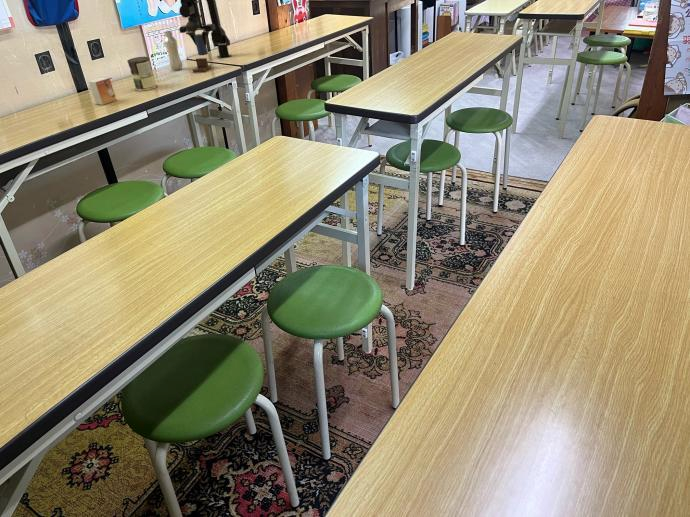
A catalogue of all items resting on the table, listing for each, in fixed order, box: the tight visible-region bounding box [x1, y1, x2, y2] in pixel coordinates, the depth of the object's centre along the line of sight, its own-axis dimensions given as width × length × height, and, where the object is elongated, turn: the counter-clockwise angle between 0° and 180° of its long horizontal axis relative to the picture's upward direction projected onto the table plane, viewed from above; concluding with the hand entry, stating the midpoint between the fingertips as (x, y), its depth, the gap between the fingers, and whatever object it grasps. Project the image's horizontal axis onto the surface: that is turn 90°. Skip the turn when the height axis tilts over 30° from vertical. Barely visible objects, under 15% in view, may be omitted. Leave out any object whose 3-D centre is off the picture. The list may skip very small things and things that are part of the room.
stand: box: [192, 57, 212, 73], centre depth 283 cm, size 8×7×6 cm
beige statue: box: [164, 30, 183, 71], centre depth 285 cm, size 6×7×20 cm
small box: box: [88, 77, 117, 106], centre depth 242 cm, size 8×6×10 cm
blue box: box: [194, 33, 209, 56], centre depth 281 cm, size 11×5×11 cm
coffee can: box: [126, 56, 157, 92], centre depth 258 cm, size 10×10×14 cm
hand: (201, 45), depth 281 cm, fingers closed on blue box, 5 cm apart
